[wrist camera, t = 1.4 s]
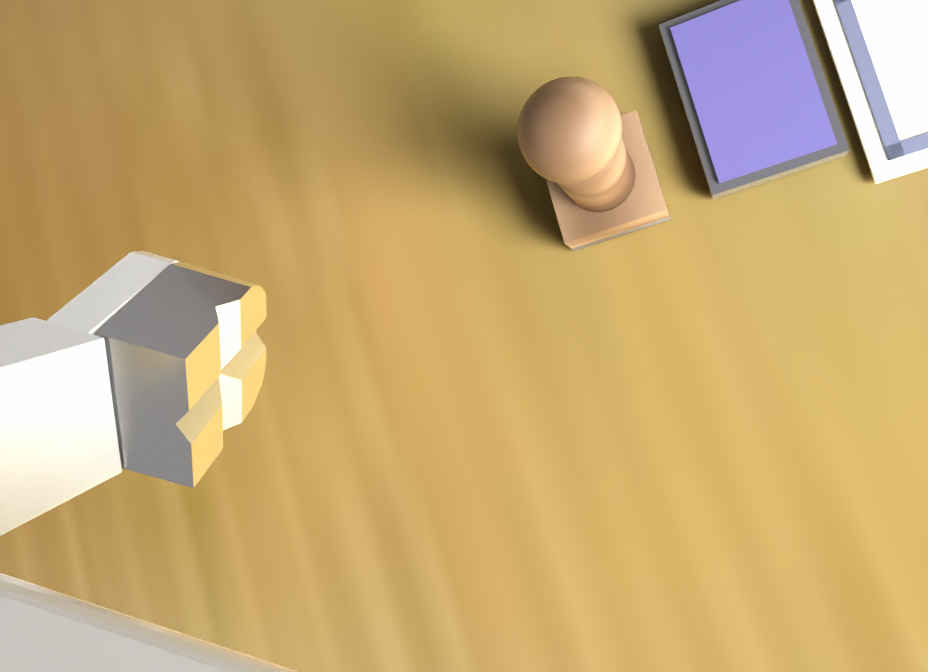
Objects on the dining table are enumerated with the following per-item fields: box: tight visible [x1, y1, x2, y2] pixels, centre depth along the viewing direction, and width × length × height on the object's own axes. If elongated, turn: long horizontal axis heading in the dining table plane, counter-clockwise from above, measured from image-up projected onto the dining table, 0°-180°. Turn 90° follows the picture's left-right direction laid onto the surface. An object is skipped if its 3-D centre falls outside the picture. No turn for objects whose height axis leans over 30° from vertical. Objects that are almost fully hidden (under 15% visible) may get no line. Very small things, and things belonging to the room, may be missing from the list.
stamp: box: [517, 77, 671, 251], centre depth 33 cm, size 4×4×11 cm
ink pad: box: [659, 0, 849, 200], centre depth 36 cm, size 6×8×1 cm
